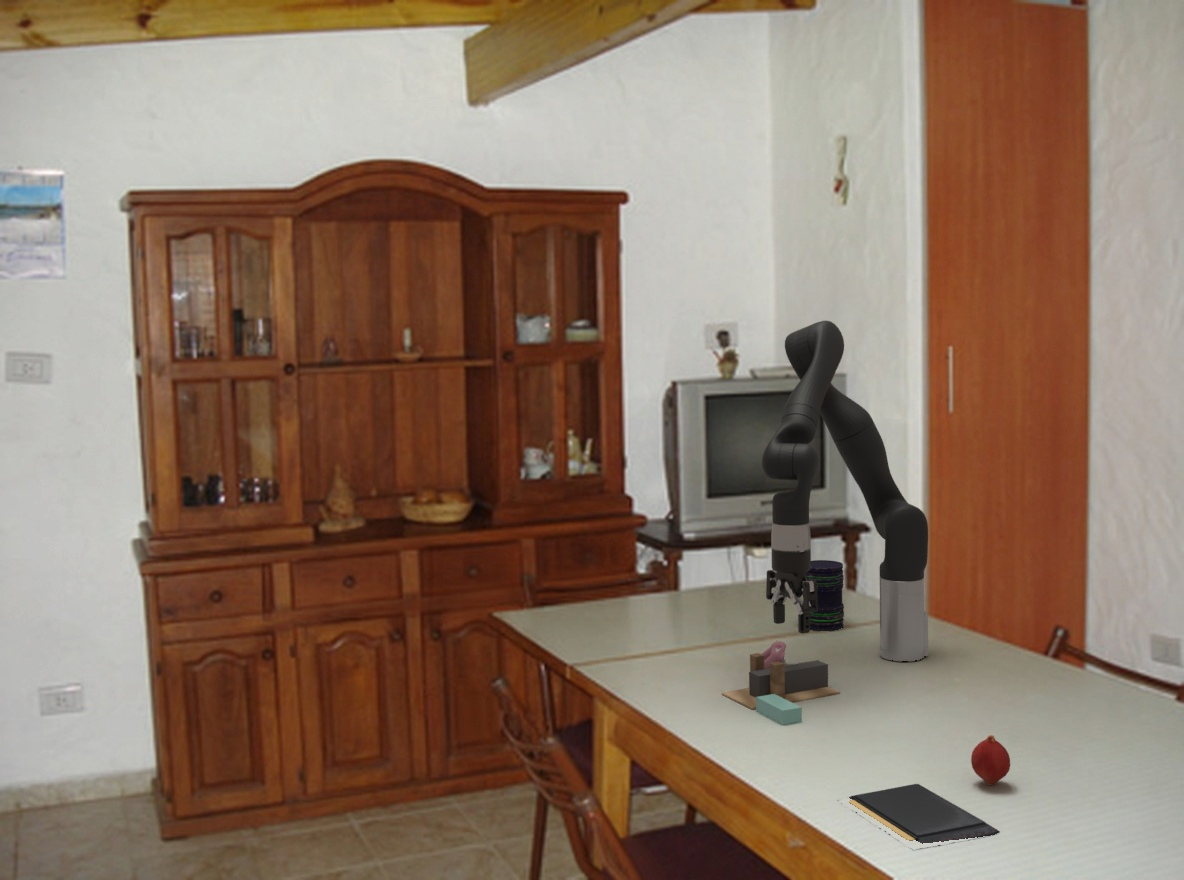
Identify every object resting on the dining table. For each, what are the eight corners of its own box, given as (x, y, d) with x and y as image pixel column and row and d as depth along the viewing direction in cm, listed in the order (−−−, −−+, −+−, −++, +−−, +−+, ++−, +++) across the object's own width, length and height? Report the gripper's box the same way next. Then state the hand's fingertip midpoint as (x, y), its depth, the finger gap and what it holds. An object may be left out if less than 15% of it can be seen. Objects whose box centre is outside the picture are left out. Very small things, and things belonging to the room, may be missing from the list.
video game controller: (774, 683, 253) (790, 654, 252) (754, 673, 254) (769, 643, 253) (777, 670, 263) (791, 641, 262) (757, 660, 263) (772, 631, 262)
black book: (1003, 825, 174) (909, 842, 169) (1002, 838, 174) (909, 856, 169) (921, 777, 193) (835, 791, 188) (921, 788, 193) (835, 803, 188)
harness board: (806, 679, 250) (806, 643, 249) (839, 693, 240) (839, 656, 239) (721, 694, 241) (721, 657, 241) (752, 709, 232) (751, 671, 231)
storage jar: (850, 624, 293) (849, 562, 292) (835, 633, 285) (834, 569, 284) (811, 619, 299) (810, 558, 297) (794, 628, 290) (794, 566, 289)
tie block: (774, 709, 233) (774, 693, 232) (801, 723, 224) (801, 707, 224) (756, 712, 231) (756, 696, 231) (783, 726, 223) (782, 710, 222)
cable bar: (817, 682, 246) (817, 660, 246) (828, 686, 243) (827, 664, 243) (749, 694, 240) (749, 671, 239) (759, 699, 237) (758, 676, 236)
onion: (965, 778, 195) (965, 729, 194) (1000, 776, 195) (1001, 727, 194) (979, 792, 189) (979, 741, 188) (1016, 790, 189) (1016, 739, 189)
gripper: (754, 542, 244) (755, 622, 246) (795, 553, 231) (796, 638, 233) (786, 538, 247) (787, 618, 249) (828, 549, 234) (829, 633, 236)
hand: (791, 627), depth 241 cm, fingers open, 8 cm apart
